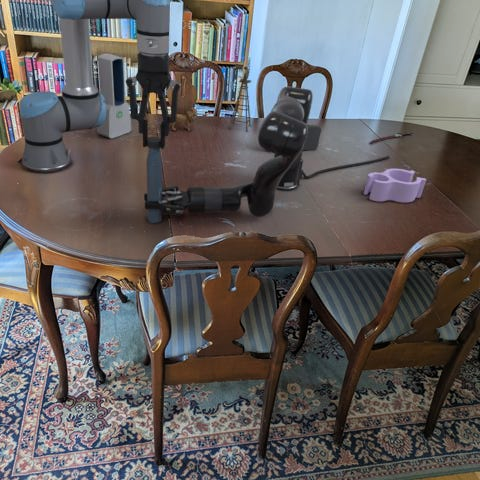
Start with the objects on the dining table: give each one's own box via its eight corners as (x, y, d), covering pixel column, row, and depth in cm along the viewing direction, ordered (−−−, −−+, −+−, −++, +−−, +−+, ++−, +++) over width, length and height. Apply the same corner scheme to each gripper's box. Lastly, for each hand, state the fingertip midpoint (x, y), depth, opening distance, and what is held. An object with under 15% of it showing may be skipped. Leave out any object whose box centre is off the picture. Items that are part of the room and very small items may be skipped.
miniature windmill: (247, 131, 204) (254, 60, 188) (228, 128, 205) (234, 57, 189) (250, 125, 212) (258, 55, 196) (232, 122, 213) (238, 53, 197)
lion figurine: (195, 126, 204) (195, 105, 199) (198, 130, 200) (199, 109, 195) (161, 127, 199) (161, 106, 194) (164, 131, 195) (164, 110, 190)
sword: (407, 132, 223) (408, 129, 223) (413, 134, 221) (413, 131, 221) (364, 143, 208) (365, 141, 207) (370, 146, 206) (370, 143, 205)
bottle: (151, 214, 138) (150, 138, 125) (164, 217, 137) (164, 141, 124) (145, 221, 134) (143, 143, 122) (158, 224, 134) (157, 146, 121)
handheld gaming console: (315, 147, 196) (319, 124, 190) (317, 149, 194) (322, 126, 188) (264, 149, 189) (267, 125, 183) (266, 152, 187) (269, 127, 181)
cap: (143, 145, 123) (142, 139, 122) (154, 141, 126) (154, 135, 125) (154, 149, 121) (154, 143, 120) (165, 145, 124) (165, 139, 123)
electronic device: (109, 139, 182) (104, 59, 166) (96, 134, 185) (89, 55, 169) (132, 131, 192) (129, 55, 175) (118, 127, 195) (114, 51, 178)
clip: (376, 205, 156) (381, 186, 152) (357, 188, 166) (361, 170, 162) (425, 200, 162) (431, 182, 159) (404, 184, 172) (409, 167, 168)
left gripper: (113, 52, 107) (118, 148, 120) (187, 60, 108) (184, 154, 121) (121, 46, 114) (125, 137, 126) (190, 53, 114) (187, 143, 127)
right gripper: (201, 177, 139) (143, 178, 135) (209, 200, 128) (145, 201, 124) (200, 199, 143) (143, 200, 140) (207, 223, 132) (145, 225, 128)
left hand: (154, 145), depth 123 cm, fingers closed on cap, 4 cm apart
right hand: (144, 201), depth 132 cm, fingers closed on bottle, 4 cm apart
